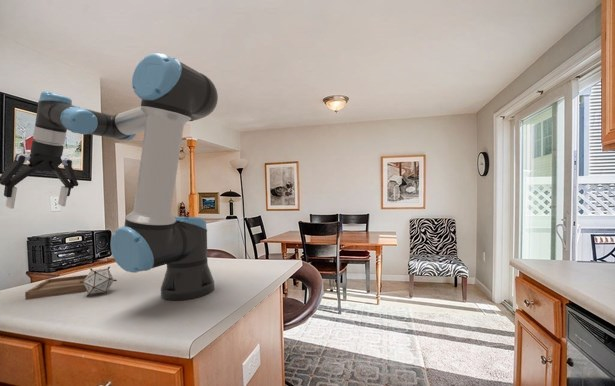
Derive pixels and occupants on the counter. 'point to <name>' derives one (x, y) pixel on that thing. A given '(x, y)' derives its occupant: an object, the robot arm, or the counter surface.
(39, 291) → the walnut tray
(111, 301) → the counter surface
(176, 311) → the counter surface
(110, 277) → the game die
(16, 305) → the counter surface
